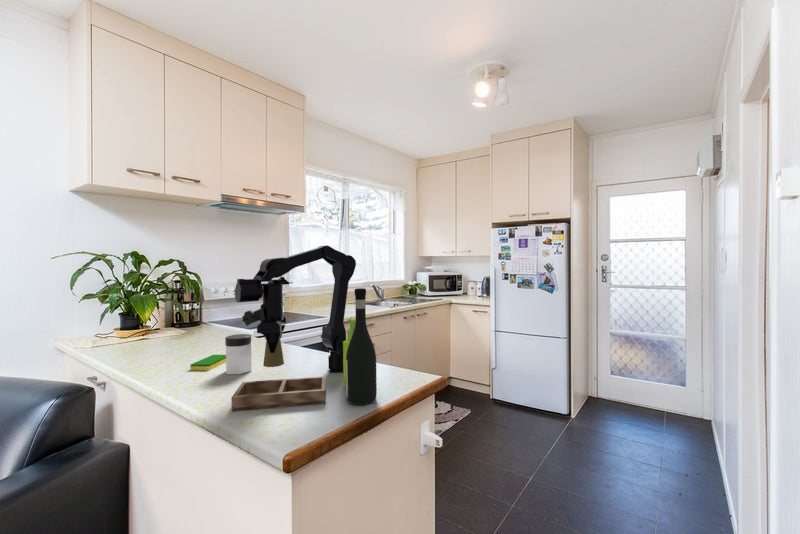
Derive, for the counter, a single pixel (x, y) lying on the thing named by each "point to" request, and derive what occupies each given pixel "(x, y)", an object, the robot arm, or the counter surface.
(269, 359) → the cork
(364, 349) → the wine bottle
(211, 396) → the counter surface
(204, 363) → the dish sponge
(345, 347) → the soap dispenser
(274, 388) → the holder
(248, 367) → the jar
